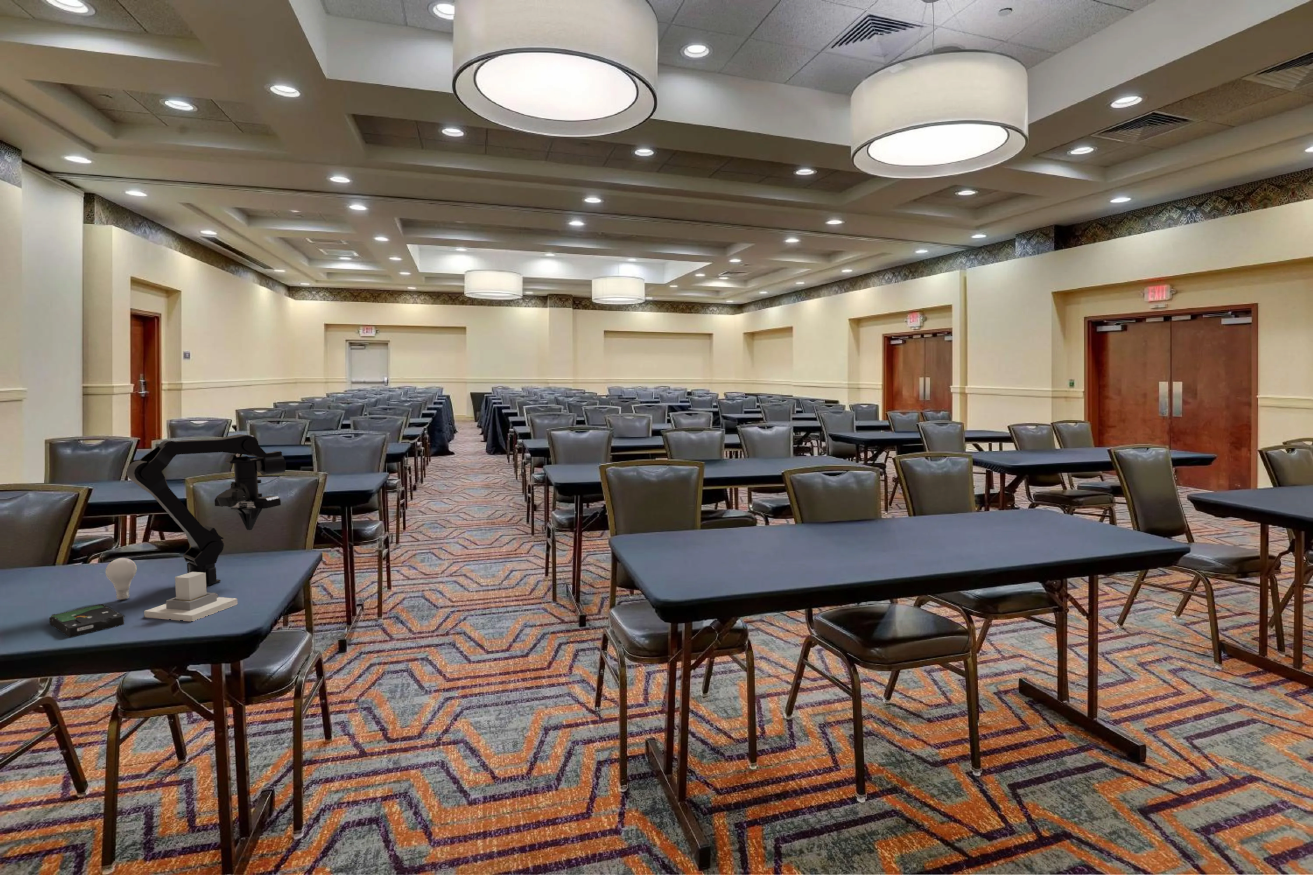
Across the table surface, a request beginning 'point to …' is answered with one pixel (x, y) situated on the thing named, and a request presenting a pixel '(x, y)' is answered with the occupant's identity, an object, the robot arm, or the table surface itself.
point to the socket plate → (191, 608)
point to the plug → (190, 586)
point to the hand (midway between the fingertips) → (249, 530)
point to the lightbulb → (121, 576)
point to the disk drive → (86, 620)
